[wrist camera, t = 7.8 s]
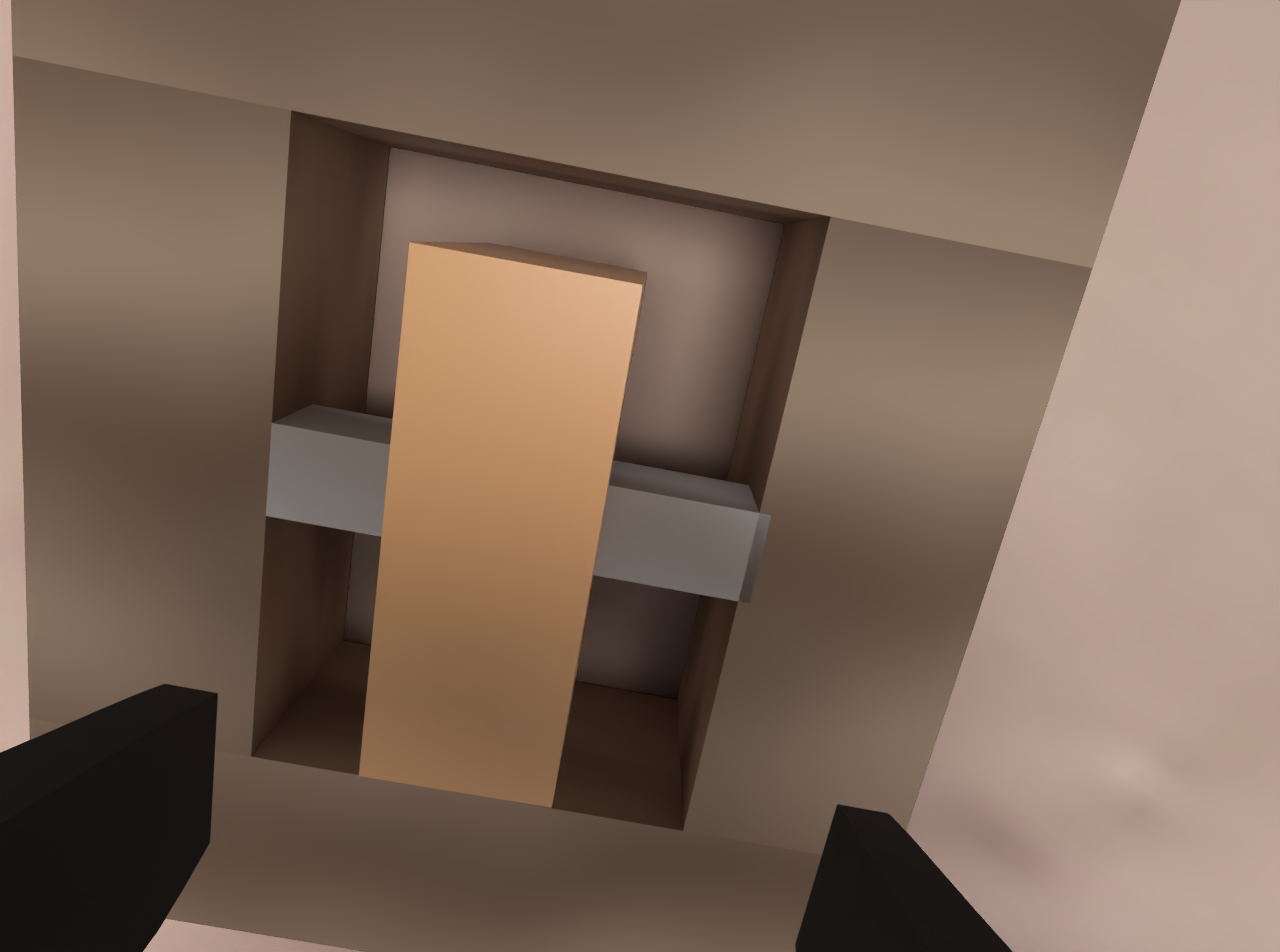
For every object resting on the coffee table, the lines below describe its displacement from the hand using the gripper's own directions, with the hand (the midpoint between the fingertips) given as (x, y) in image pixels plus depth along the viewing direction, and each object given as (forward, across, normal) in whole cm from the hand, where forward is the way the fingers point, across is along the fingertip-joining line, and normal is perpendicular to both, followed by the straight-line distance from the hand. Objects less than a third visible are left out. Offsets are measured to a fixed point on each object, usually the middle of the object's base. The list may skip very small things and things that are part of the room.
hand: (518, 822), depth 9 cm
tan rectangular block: (+8, +1, -2) cm, 8 cm away
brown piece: (+9, +1, -2) cm, 10 cm away
